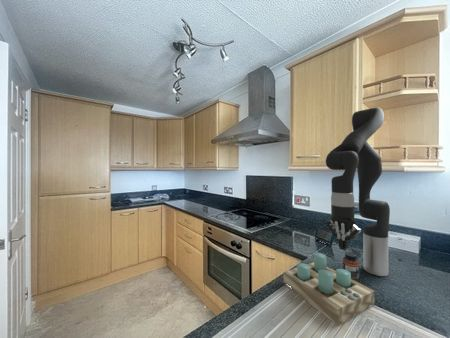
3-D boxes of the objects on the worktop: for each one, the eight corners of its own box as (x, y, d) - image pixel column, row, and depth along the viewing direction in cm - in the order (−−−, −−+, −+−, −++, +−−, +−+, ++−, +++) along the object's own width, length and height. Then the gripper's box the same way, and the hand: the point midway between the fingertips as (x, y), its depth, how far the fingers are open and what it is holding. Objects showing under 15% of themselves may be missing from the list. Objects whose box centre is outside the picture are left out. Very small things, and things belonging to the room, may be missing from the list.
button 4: (341, 282, 77) (341, 267, 77) (353, 289, 72) (353, 273, 72) (333, 285, 75) (333, 270, 75) (345, 293, 70) (345, 276, 70)
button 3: (324, 283, 72) (324, 268, 72) (336, 291, 68) (336, 274, 68) (315, 287, 70) (315, 271, 70) (327, 295, 66) (327, 278, 66)
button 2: (319, 265, 86) (319, 252, 86) (329, 270, 81) (329, 256, 81) (311, 268, 84) (311, 254, 84) (321, 273, 79) (321, 259, 79)
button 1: (303, 276, 81) (302, 262, 81) (312, 282, 77) (312, 267, 77) (294, 279, 79) (294, 264, 79) (303, 285, 75) (303, 270, 75)
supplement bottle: (344, 274, 88) (343, 249, 88) (359, 279, 84) (359, 253, 84) (341, 280, 83) (341, 254, 83) (358, 285, 79) (358, 258, 79)
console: (316, 271, 90) (316, 260, 90) (374, 304, 68) (374, 289, 68) (283, 283, 81) (283, 271, 81) (338, 325, 60) (338, 308, 60)
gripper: (367, 205, 69) (368, 253, 69) (332, 200, 81) (333, 241, 81) (354, 208, 65) (355, 258, 66) (320, 202, 77) (321, 244, 78)
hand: (343, 249), depth 73 cm, fingers closed
